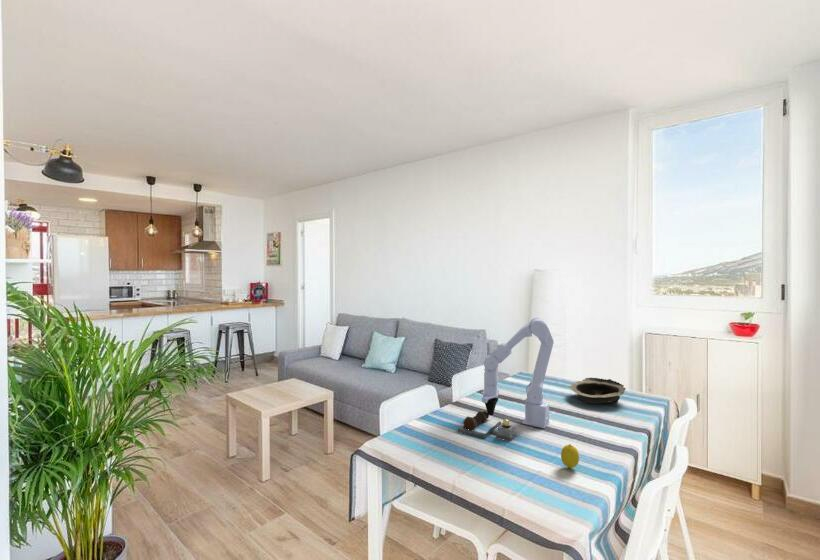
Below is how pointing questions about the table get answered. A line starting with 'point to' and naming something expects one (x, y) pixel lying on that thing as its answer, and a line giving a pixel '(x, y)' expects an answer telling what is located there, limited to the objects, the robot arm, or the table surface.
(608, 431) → the table surface
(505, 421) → the press pin
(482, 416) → the bolt
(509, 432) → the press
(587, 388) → the stone bowl
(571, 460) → the lemon
